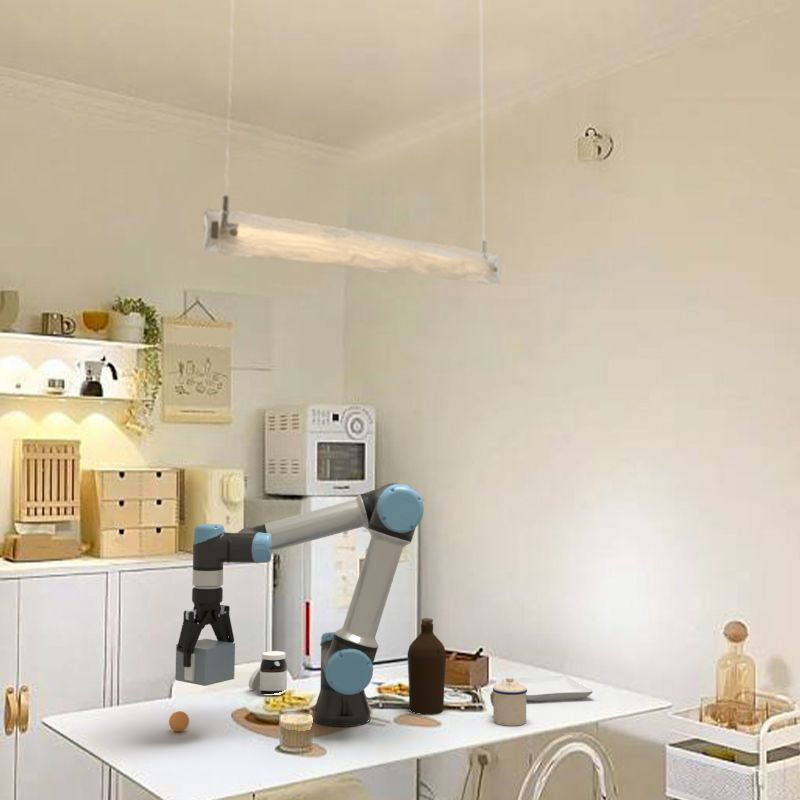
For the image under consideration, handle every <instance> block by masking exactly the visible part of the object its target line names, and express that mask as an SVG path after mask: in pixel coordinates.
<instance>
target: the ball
mask: <svg viewBox="0 0 800 800" xmlns="http://www.w3.org/2000/svg"><path fill="white" fill-rule="evenodd" d="M189 724H190V717H189V716H188V714H187V713H186V712H185V711H183V710H182V711H181V710H177V711H175V712H173V713H172V714H171V715H170V717H169V719H168V726H169V727H170V729H171V730H172V731H174V732H177V733H181V732H183V731H185V730H186V729H187V728H188V727H189Z"/></svg>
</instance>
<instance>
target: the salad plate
mask: <svg viewBox="0 0 800 800" xmlns="http://www.w3.org/2000/svg"><path fill="white" fill-rule="evenodd" d="M513 678H514V677H513ZM501 681H502V682H503V681H506V678H503V679H502V680H501ZM514 681H515V682H517V683H519V684H520V685H523V686H525V687H526V688H527V692H526V701H528V702H550V701H551V702H552V701H571V700H579V699H584V698H586V697H589V696H590V695H591V694H593V692H594V691H593V689H592V688H591V689H590V688H589V687H587V686H585V685H584V684H583V683H580V682H579V681H577V680H575V679H573V678H571V677H570V676H569V675H567V674H566V675H548V676H547V675H544V676H543V675H542V676H528V677H516V678H514Z"/></svg>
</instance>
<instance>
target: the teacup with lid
mask: <svg viewBox="0 0 800 800" xmlns="http://www.w3.org/2000/svg"><path fill="white" fill-rule="evenodd" d="M505 679H506V681H502V682H500V683H498V684H495V685H494V686H493V688H492V691H491V692H490V698H489V699H490V704H491V706H492V707H493V708H492V709H493V716H492V717H493V722H494V723H495V724H497V725H500V726H506V727H516V726H522V725H525V724H526V722H527V700H526V692H527V688H526V687H525V686H523V685H520V684H519V683H517V682H515V681H514V677H513V676H512V677H511V676H508V677H506V678H505Z"/></svg>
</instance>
